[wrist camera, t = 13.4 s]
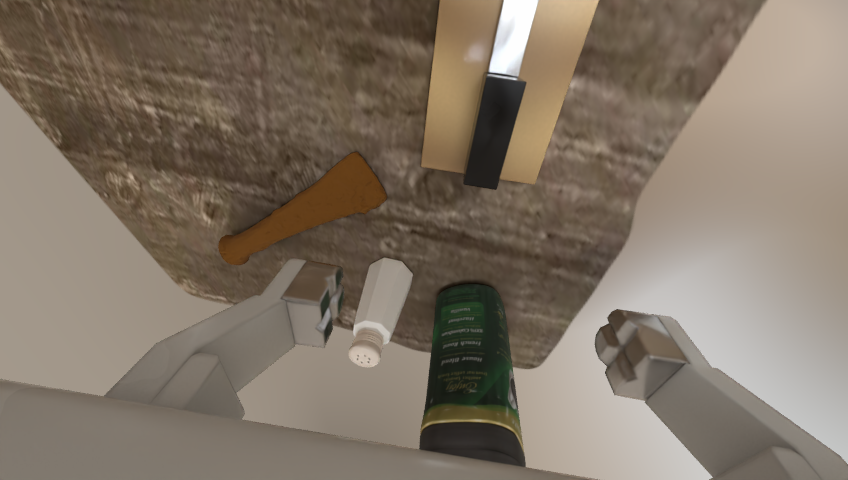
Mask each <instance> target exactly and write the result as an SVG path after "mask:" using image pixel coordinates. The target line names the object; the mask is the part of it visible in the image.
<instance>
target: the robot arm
mask: <svg viewBox="0 0 848 480" xmlns="http://www.w3.org/2000/svg"><path fill="white" fill-rule="evenodd" d="M342 278H343V268H342V267H341V266H336V265H330V264H325V263H319V262H314V261H306V260H301V259H295V258H292V259H290V260H288V261H287V262H286V263H285V265H284V266H283V267H282V268H281V270H280V271H279V272H278V274H277V275H276V276H275V277H274V279H273V280H272V281H271V283H270V284H269V285H268V286H267V288H266V289H265V290H264V292H263V293H262V294H261V295H260V296H257V295H254V296H252V297H250V298H248V299H246V300H244V301H242V302H240V303H238V304H236V305H234V306H232V307H230V308H228V309H226V310H224V311H221V312H219V313H217V314H215V315H213V316H211V317H209V318H207V319H205V320H203V321H201V322H199V323H197V324H195V325H193V326H191V327H189V328H187V329H185V330H183V331H181V332H178V333H176V334H175V335H172V336H170V337H168V338H166V339H164V340H162V341H160V342H158V343H156V344H155V345H154V346H153V347H152V348H151V349H150V350H149V351H148V352H147V353H146V354H145V355H144V356H143V357H142V358H141V359H140V360H139V361H138V362H137V363H136V364H135V365H134V366H133V367H132V368H131V369H130V370H129V371H128V372H127V373H126V374H125V375H124V376H123V377H122V378H121V379H120V380H119V381H118V382H117V383H116V384H115V385H114V386H113V387H112V388H111V390H109V391H108V392H107V393H106V395H104V396H98V395H92V394H86V393H80V392H74V391H69V390H62V389H56V388H51V387H45V386H39V385H32V384H27V383H21V382H15V381H9V380H3V379H0V480H598V479H591V478H585V477H580V476H574V475H568V474H562V473H556V472H550V471H544V470H538V469H532V468H527V467H521V466H515V465H509V464H503V463H497V462H491V461H485V460H479V459H473V458H467V457H461V456H455V455H449V454H444V453H438V452H432V451H426V450H420V449H413V448H408V447H402V446H396V445H390V444H384V443H378V442H372V441H366V440H360V439H354V438H348V437H342V436H336V435H330V434H325V433H319V432H313V431H306V430H301V429H295V428H289V427H283V426H276V425H271V424H265V423H259V422H253V421H247V420H242V418H243V416H244V414H245V413H244V409H243V406H242V404H241V402H240V400H239V398H238V396H237V394H236V393H237V392H238V391H239V390H241V389H242V388H243V387H244V386H245V385H247V384H248V383H249V382H250V381H252V380H253V379H254V378H255V377H257V376H258V375H259V374H261V373H262V372H263V371H264V370H266V369H267V368H268V367H269V366H271V365H272V364H273V363H274V362H276V361H277V360H278V359H279V358H280V357H282V356H283V355H284V354H285V353H287V352H288V351H289V350H290V349H292V348H293V347H294V346H295V344H298V345H306V346H313V347H321V348H324V347H325V345H326V343H327V341H328V339H329V336H330V334H331V332H332V329H333V326H332V321H333V320H334V319H336V318H337V317H338V316H339V314H340V311H341V308H342V305H343V301H344V287H343V285H342V284H341V283H340V282H341V280H342ZM608 321H609V324H607V325H605V326H603V327H601V328H600V329H599V331H598V333H597V334H596V338H595V348H596V352H597V355H598V357H599V359H600V360H601V361H602V362H603V363H604V364H605V365H606V366H607V369H606V371H605V374H606V376H607V378H608V381H609V383H610V385H611V388H612V390H613V393H614V395H618V396H623V397H628V398H633V399H639V400H644V401H646V402H645V403H646V404H647V405H648V406H649V407H650V408H651V410H652V411H653V412H654V413H655V414H656V415H657V416H658V417H659V418H660V419H661V421H662V422H663V423H664V424H665V425H666V426H667V427H668V428H669V429H670V430H671V432H673V434H674V435H675V436H676V437H677V438H678V439H679V440H680V441H681V443H682V444H684V446H685V447H686V448H687V449H688V450H689V451H690V452H691V454H692V455H693V456H694V457H695V458H696V459H697V460H698V461H699V462H700V463H701V465H702V466H703V467H704V468H705V469H706V470H707V471H708V472H709V473H710V474H711V475H712V477H713V478H711V479H709V480H848V464H847V463H846V462H845V461H844V460H843V459H842V458H841V456H839V455H838V454H837V453H835V452H834V451H832V450H831V449H830V448H828V447H827V446H826V445H824V444H823V443H821V442H820V441H819V440H817V439H816V438H814V437H813V436H811V435H810V434H809V433H807V432H806V431H805V430H803V429H801V428H800V427H799V426H798V425H796V424H794V423H793V422H792V421H791V420H789V419H788V418H786V417H785V416H784V415H782V414H781V413H779V412H778V411H777V410H775V409H774V408H772V407H771V406H770V405H768V404H767V403H765V402H764V401H762V400H761V399H760V398H758V397H757V396H755V395H754V394H753V393H751V392H750V391H748V390H747V389H746V388H744V387H743V386H741V385H740V384H739V383H737V382H736V381H734V380H733V379H732V378H730V377H729V376H728V375H726V374H725V373H723V372H722V371H721V370H719V369H717V368H712V367H711V366H710V364H709V363H708V362H707V360H706V359H705V358H704V357H703V355H702V354H701V352H700V351H699V350H698V348H697V347H696V346H695V344H694V343H693V342H692V340H691V339H690V338H689V337H688V335H687V334H686V333H685V331H684V330H683V329H682V327H681V326H680V325H679V323H678V322H677V321H676V320H674V319H673V318H672V317H668V316H660V315H654V314H645V313H639V312H632V311H625V310H618V309H617V310H615V311H612V312H611V314H610V315H609V316H608Z"/></svg>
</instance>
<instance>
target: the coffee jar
mask: <svg viewBox="0 0 848 480" xmlns="http://www.w3.org/2000/svg"><path fill="white" fill-rule="evenodd" d="M420 432H421V433H420V434H421V435H420V448H419V449H420V450H426V451H432V452H438V453H444V454H449V455H455V456H461V457H467V458H473V459H479V460H485V461H491V462H497V463H503V464H509V465H515V466H521V467H525V456H524V450H523V442H522V435H521V427H520V420H519V413H518V405H517V398H516V390H515V383H514V375H513V367H512V361H511V353H510V345H509V337H508V329H507V322H506V315H505V310H504V306H503V303H502V300H501V298H500V296H499V294H498V293H497V292H496V291H495V290H494V289H493V288H491V287H489V286H486V285H479V284H464V285H458V286H454V287H451V288H448V289H446V290H444V291H443V292H441V293H440V294H439V296H438V298H437V301H436V309H435V318H434V329H433V340H432V350H431V360H430V369H429V379H428V388H427V396H426V404H425V410H424V415H423V420H422V425H421V431H420Z"/></svg>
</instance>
